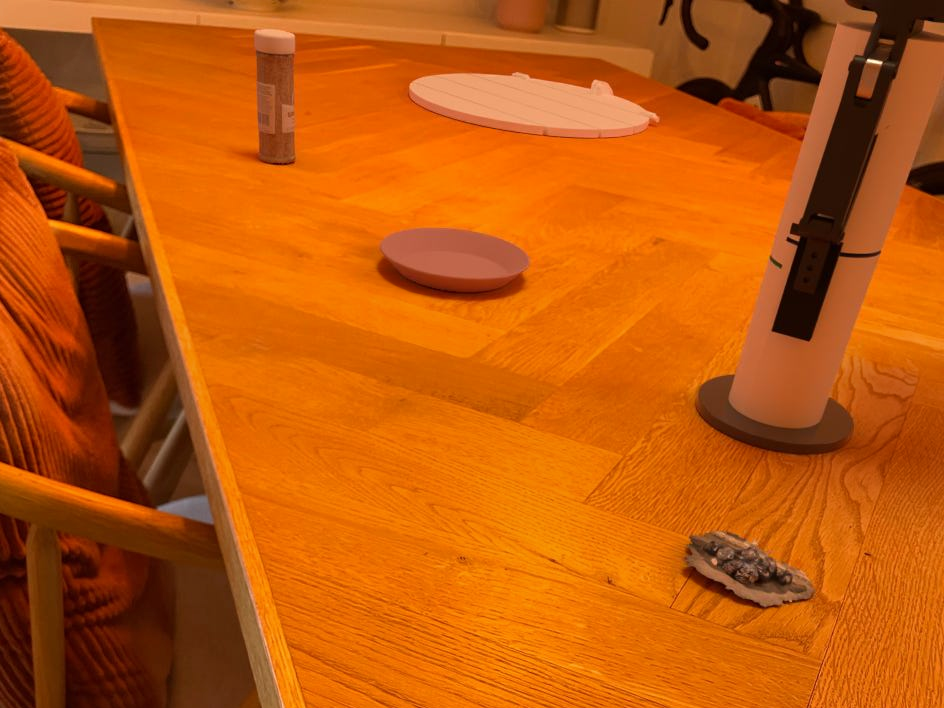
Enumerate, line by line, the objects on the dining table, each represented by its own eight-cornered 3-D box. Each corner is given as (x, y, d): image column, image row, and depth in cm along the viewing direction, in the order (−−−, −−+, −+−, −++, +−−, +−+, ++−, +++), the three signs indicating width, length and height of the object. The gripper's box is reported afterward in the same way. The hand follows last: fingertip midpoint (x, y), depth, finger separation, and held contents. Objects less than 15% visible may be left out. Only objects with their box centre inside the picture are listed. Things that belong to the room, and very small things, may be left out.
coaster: (862, 411, 79) (866, 402, 79) (834, 470, 71) (838, 460, 70) (719, 370, 83) (721, 361, 82) (675, 421, 74) (678, 411, 74)
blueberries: (688, 529, 62) (695, 503, 61) (816, 560, 61) (826, 534, 60) (674, 586, 57) (682, 559, 56) (814, 621, 56) (826, 594, 54)
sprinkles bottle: (300, 164, 119) (300, 36, 111) (264, 165, 117) (261, 34, 109) (288, 154, 122) (287, 28, 114) (252, 155, 120) (249, 27, 112)
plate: (548, 299, 92) (551, 278, 90) (398, 300, 88) (399, 277, 86) (500, 248, 102) (503, 228, 101) (365, 246, 98) (365, 226, 97)
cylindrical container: (778, 435, 72) (910, 41, 57) (709, 395, 77) (813, 19, 61) (840, 418, 76) (980, 43, 60) (771, 380, 80) (884, 22, 65)
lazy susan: (531, 77, 183) (533, 56, 181) (699, 127, 162) (705, 104, 160) (359, 86, 160) (360, 61, 158) (530, 146, 139) (534, 119, 137)
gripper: (889, -74, 66) (784, 270, 80) (831, -75, 51) (715, 346, 66) (1006, -57, 64) (877, 293, 78) (981, -53, 49) (828, 378, 63)
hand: (804, 317), depth 72 cm, fingers open, 8 cm apart
